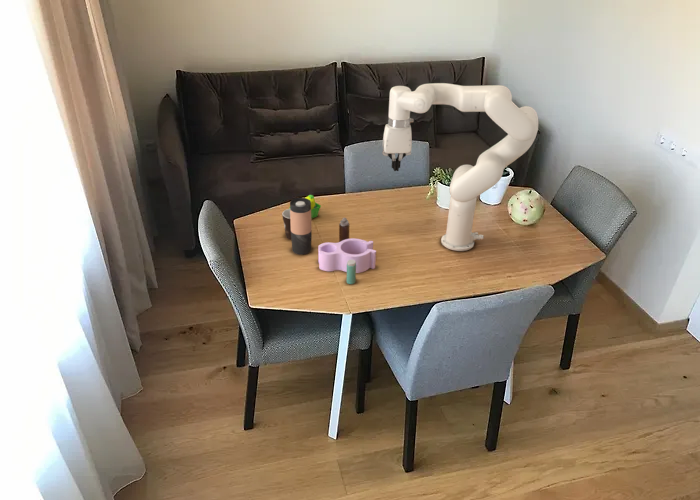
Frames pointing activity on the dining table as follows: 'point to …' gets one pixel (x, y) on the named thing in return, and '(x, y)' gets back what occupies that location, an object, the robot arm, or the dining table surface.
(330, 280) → the dining table surface
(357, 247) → the clip
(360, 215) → the dining table surface
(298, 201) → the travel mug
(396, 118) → the robot arm
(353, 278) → the green cylinder
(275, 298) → the dining table surface
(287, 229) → the coffee mug
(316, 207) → the fruit basket
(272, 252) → the dining table surface
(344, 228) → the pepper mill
